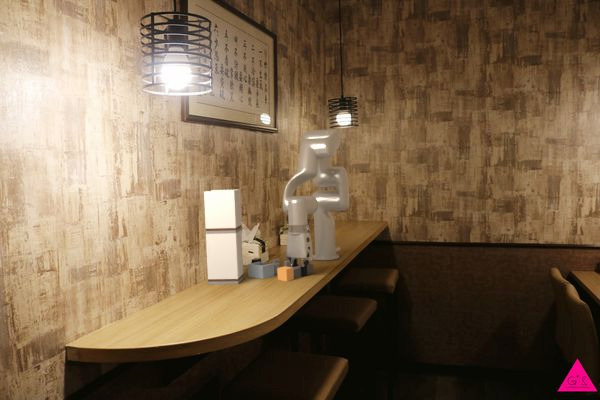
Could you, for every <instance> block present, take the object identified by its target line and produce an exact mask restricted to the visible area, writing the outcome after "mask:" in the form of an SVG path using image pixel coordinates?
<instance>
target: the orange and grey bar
mask: <svg viewBox="0 0 600 400" xmlns="http://www.w3.org/2000/svg"><path fill="white" fill-rule="evenodd" d="M298 265H299V266H295V267H292V266H291V267H285V266H284V265H283V266H280V268H277V272H278V275H277V281H283V282H291V281H293V280H295V279H298V278H302V276H301V266H302V264H298ZM314 272H315V271H314V264H313V263H312V264H311V263H309V264H308V265H307V276H309V275H313V274H314Z"/></svg>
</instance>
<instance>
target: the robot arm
mask: <svg viewBox="0 0 600 400" xmlns="http://www.w3.org/2000/svg"><path fill="white" fill-rule="evenodd" d="M341 140H342V138H341V133H340V132H339V131H338V130H337V129H335V128H333V129H330V128H329V129H317V130H316V129H314V130H307V131H304V132H303V133H302V134H301V143H300V145H299V154H298V162H297V170H296V172H295V173H294V175H292V176H291V178H290V179H289V180H288V182H287V183H286V185H285V187H284V190H283V197H282V210H283V212H284V213H285V214H287V216H288V221H287V222H288V232H287V235H286V236H287V237H286V238H287V239H286V254H285V259H287V260H289V261H290V262H291V267H295V266H299V265H302V266H301V276H302V277H307V276H308V275H307V265H308V264H311V262H313V260H314V261H334V260H337V259H339V258H340V256H339V255H340V254H337V253H339V252H341V248H340V247H336V224H335V223H336V221H335V218H334V216H333V215H332V214H331V212H344V211H347V210H349V207H350V189H349V188H350V187H349V173H348V172H347V169H346V168H345V167H343V166H332V164H331V163H332V162H331V158H332V157H333V156H334V155H335V154H336V153H337V151H338V149H339V148H340V145H341ZM311 180H312V181H313V184H314V186H315V187H316V188H322V189H323V188H324V189H326V188H327V189H326V190H324V189H323V190H322V189H321V190H316V191H315V192H313V193H312V195H293V194H294V192H295V191H296V190H297V189H298V187H300V186H301V185H303V184H305V183H307V182H309V181H311ZM328 188H331V189H332V188H336V189H337V190H333V189H332V190H330V189H329V190H328ZM309 215H313V226H314V227H313V228H314V229H313V230H314V232H313V233H314V254H313V243H312V236H311V233H310V232H309V231H310V227H309V225H308V216H309ZM298 259H300V261H301V262H300V263H301V264H299V263H298ZM302 277H301V278H302Z"/></svg>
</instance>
